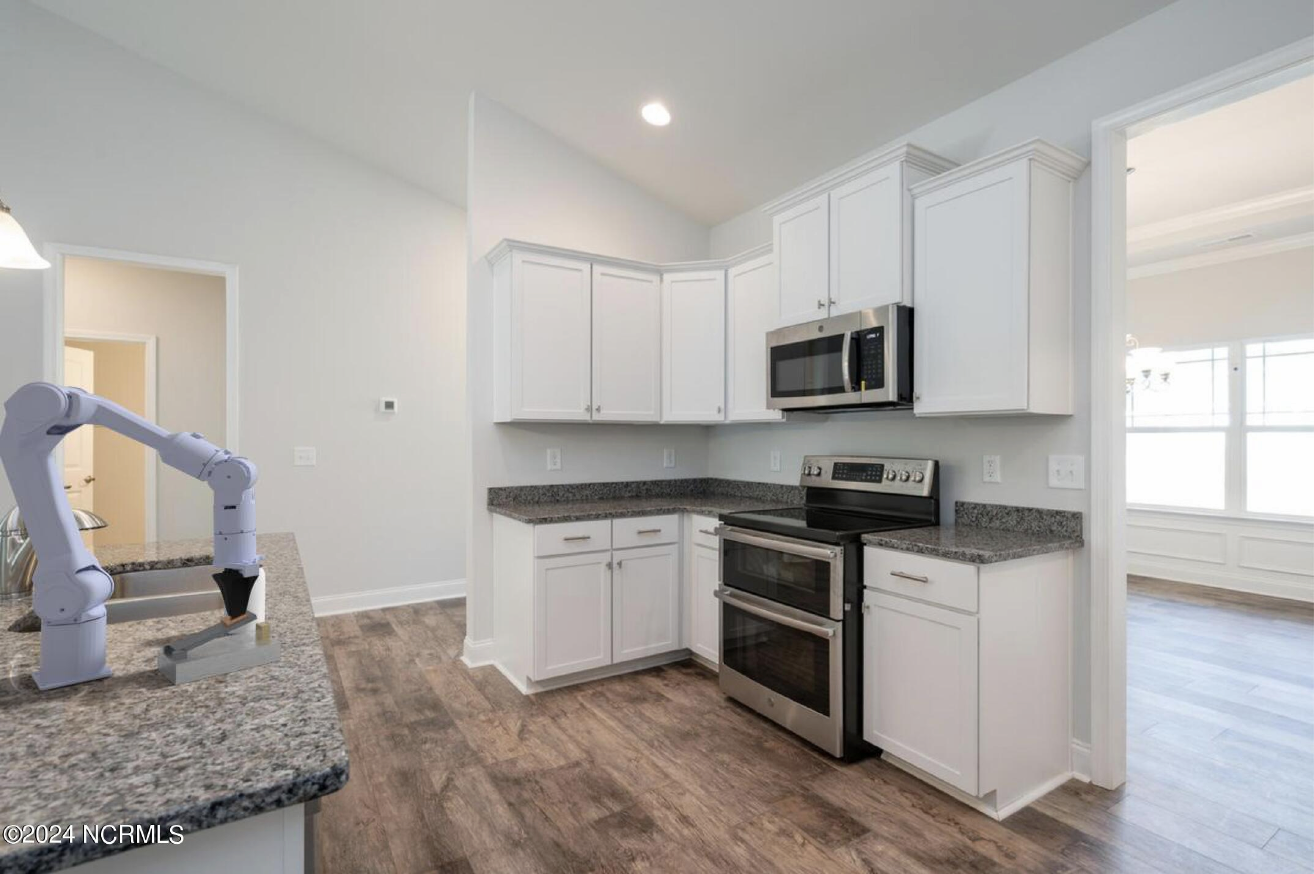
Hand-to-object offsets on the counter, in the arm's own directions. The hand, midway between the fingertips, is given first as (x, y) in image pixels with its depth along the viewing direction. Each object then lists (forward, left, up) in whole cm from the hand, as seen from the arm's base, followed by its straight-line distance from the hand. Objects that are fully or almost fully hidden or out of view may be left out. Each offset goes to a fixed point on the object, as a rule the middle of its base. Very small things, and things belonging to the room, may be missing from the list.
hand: (236, 615), depth 102 cm
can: (-18, +7, -8) cm, 21 cm away
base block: (0, -2, -8) cm, 8 cm away
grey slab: (0, -3, -2) cm, 4 cm away
